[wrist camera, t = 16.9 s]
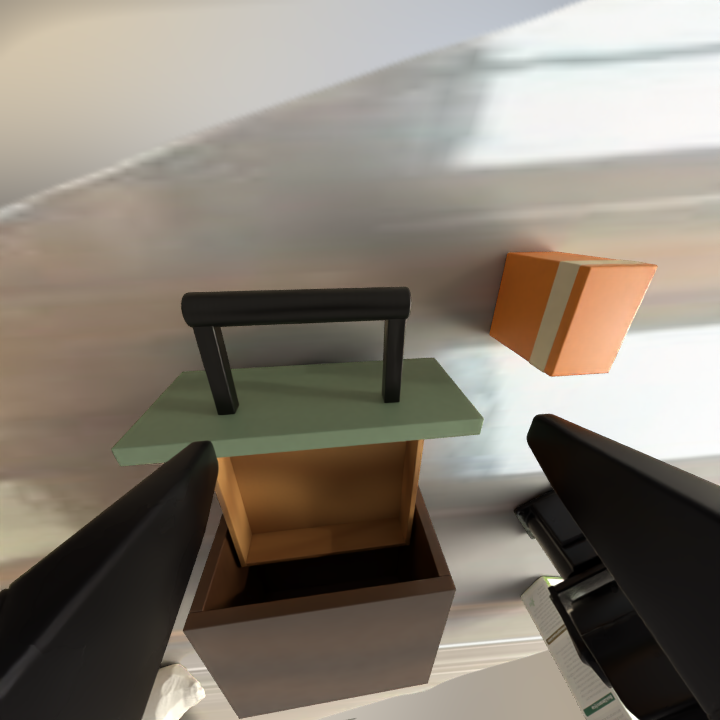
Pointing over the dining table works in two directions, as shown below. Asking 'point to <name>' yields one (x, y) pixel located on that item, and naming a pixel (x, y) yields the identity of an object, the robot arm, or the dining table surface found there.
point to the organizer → (321, 621)
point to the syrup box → (571, 657)
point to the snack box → (568, 309)
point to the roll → (172, 694)
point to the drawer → (306, 426)
